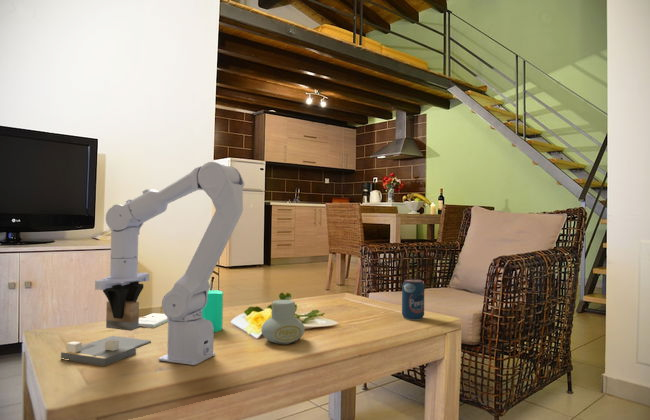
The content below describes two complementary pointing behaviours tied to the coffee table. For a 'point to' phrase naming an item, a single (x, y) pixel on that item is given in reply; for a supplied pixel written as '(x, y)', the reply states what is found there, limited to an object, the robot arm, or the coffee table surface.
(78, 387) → the coffee table surface
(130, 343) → the tool pad
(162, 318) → the external hard drive
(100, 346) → the switch board
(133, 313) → the bar
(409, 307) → the soda can
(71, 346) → the tab
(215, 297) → the candle
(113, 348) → the tab
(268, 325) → the air freshener
